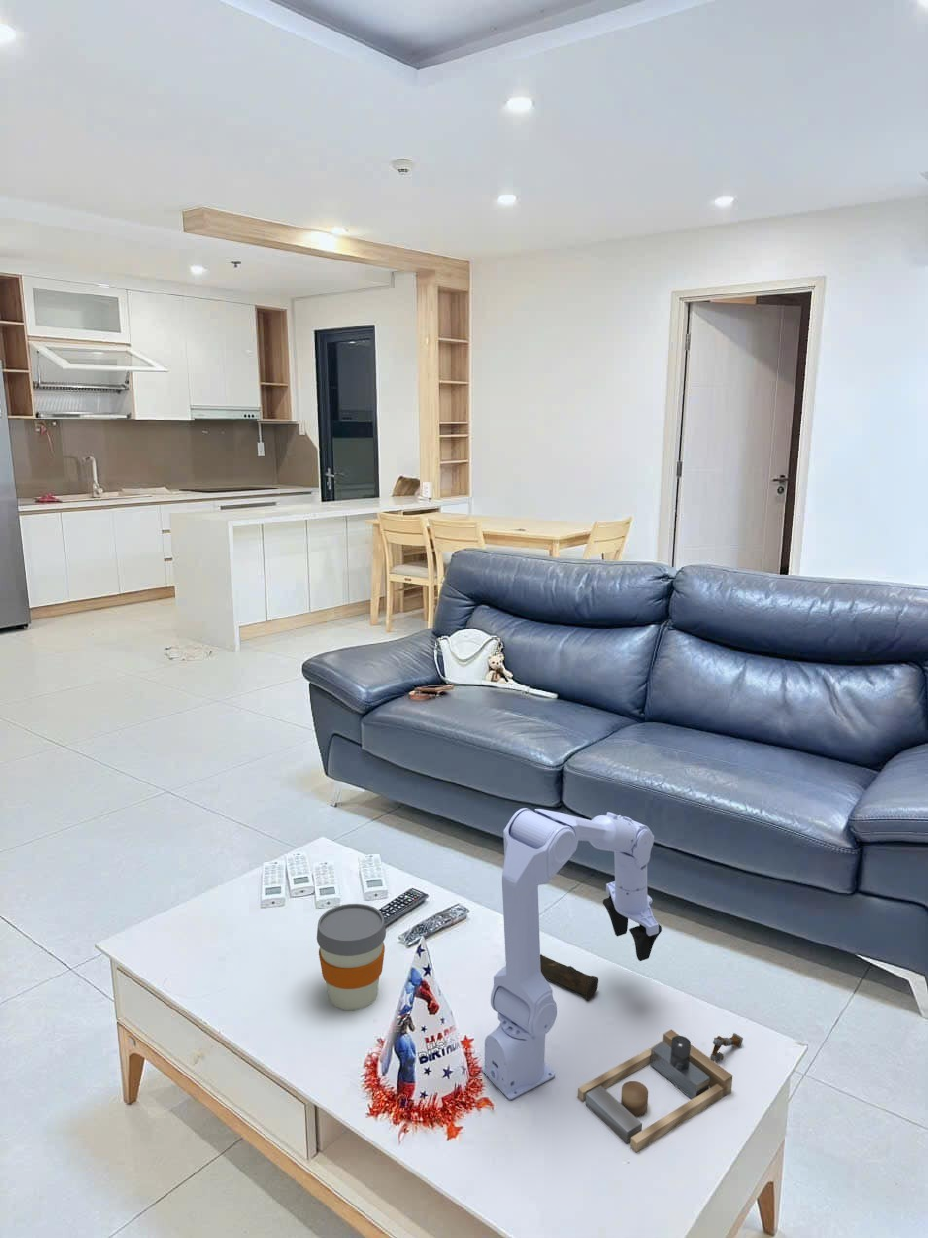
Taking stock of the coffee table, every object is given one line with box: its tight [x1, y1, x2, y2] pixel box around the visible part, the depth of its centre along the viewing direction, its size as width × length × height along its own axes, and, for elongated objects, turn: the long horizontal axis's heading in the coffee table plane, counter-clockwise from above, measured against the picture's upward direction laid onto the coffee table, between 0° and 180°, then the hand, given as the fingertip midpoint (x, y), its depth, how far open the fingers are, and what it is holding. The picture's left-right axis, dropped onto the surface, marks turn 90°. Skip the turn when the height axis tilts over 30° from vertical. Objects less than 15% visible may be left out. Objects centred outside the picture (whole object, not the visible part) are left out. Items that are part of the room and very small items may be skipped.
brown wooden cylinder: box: [620, 1080, 649, 1118], centre depth 134 cm, size 4×4×3 cm
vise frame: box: [577, 1029, 733, 1153], centre depth 136 cm, size 21×13×3 cm, turn 124°
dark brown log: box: [540, 953, 599, 1002], centre depth 165 cm, size 19×4×5 cm, turn 50°
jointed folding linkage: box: [709, 1032, 744, 1063], centre depth 145 cm, size 2×8×4 cm, turn 131°
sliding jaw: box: [649, 1035, 710, 1100], centre depth 139 cm, size 3×10×7 cm, turn 34°
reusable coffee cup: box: [316, 903, 387, 1011], centre depth 158 cm, size 13×13×15 cm
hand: (631, 945), depth 158 cm, fingers open, 7 cm apart
